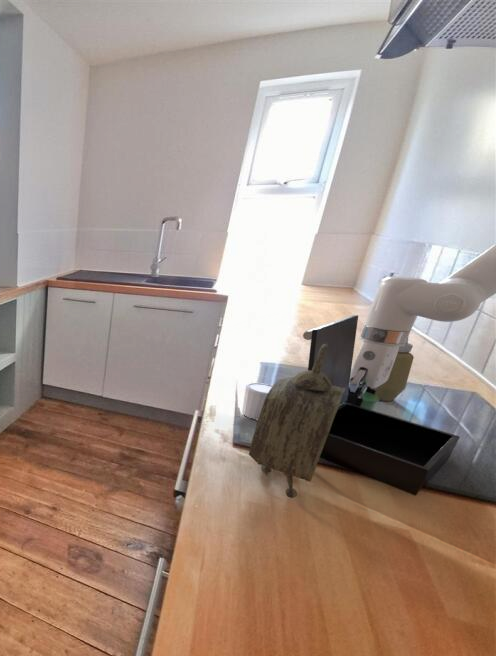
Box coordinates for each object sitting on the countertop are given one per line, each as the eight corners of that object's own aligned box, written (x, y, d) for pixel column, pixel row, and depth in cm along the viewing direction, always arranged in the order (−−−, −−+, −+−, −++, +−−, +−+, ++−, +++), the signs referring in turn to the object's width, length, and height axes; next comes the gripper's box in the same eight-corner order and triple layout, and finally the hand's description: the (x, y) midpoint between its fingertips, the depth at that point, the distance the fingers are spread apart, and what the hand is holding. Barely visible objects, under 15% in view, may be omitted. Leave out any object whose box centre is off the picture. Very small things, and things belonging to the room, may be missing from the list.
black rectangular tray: (446, 462, 78) (460, 436, 76) (413, 499, 69) (428, 470, 66) (335, 425, 92) (344, 402, 90) (294, 451, 82) (303, 425, 80)
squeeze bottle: (349, 392, 108) (375, 325, 101) (371, 388, 110) (397, 323, 103) (385, 405, 101) (415, 334, 94) (407, 401, 103) (438, 331, 96)
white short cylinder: (232, 412, 98) (239, 385, 95) (250, 406, 101) (257, 380, 98) (261, 424, 92) (269, 396, 89) (279, 418, 95) (288, 390, 92)
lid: (358, 315, 84) (329, 314, 88) (317, 329, 75) (287, 328, 79) (347, 400, 89) (320, 396, 93) (306, 424, 79) (278, 418, 83)
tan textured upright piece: (300, 507, 67) (354, 363, 57) (238, 484, 73) (277, 349, 63) (314, 469, 76) (363, 340, 66) (259, 451, 82) (295, 330, 72)
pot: (376, 414, 97) (384, 396, 95) (365, 422, 93) (373, 403, 92) (340, 403, 102) (347, 386, 100) (329, 410, 99) (335, 392, 97)
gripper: (392, 346, 83) (360, 423, 90) (419, 333, 92) (388, 404, 99) (347, 337, 89) (320, 410, 96) (376, 325, 97) (349, 393, 105)
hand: (355, 406), depth 97 cm, fingers closed on pot, 7 cm apart
